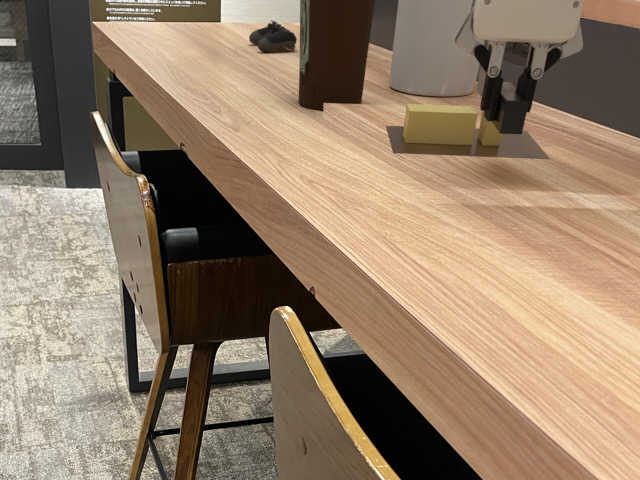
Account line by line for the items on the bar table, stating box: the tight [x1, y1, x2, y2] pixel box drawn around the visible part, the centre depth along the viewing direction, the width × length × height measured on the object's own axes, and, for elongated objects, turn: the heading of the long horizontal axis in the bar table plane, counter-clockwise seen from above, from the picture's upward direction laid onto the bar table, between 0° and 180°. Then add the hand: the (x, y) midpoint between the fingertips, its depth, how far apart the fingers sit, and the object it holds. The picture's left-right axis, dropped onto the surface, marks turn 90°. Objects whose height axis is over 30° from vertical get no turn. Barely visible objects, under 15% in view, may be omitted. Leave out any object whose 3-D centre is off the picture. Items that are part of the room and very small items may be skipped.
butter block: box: [403, 103, 479, 145], centre depth 99 cm, size 8×4×4 cm, turn 86°
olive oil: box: [298, 0, 376, 111], centre depth 115 cm, size 11×11×25 cm
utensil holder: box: [389, 0, 486, 98], centre depth 128 cm, size 15×15×18 cm
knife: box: [475, 65, 529, 135], centre depth 90 cm, size 22×2×3 cm, turn 176°
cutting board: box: [385, 125, 551, 160], centre depth 100 cm, size 18×14×2 cm
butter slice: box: [478, 111, 501, 146], centre depth 99 cm, size 2×4×4 cm, turn 175°
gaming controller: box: [248, 20, 298, 53], centre depth 163 cm, size 12×8×5 cm, turn 10°
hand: (503, 117), depth 86 cm, fingers closed on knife, 2 cm apart
